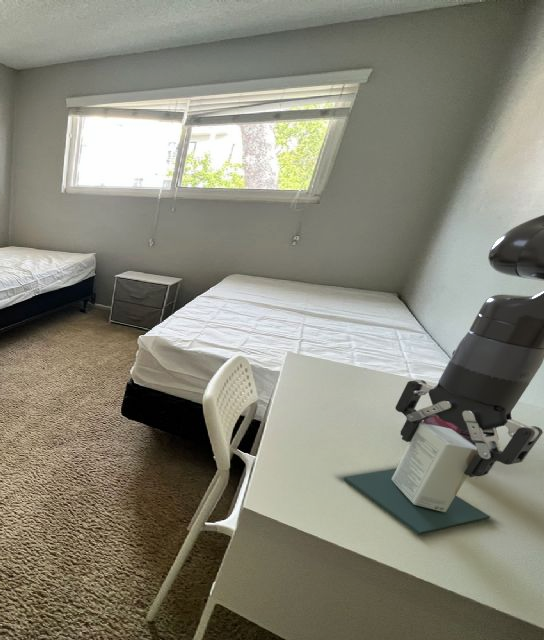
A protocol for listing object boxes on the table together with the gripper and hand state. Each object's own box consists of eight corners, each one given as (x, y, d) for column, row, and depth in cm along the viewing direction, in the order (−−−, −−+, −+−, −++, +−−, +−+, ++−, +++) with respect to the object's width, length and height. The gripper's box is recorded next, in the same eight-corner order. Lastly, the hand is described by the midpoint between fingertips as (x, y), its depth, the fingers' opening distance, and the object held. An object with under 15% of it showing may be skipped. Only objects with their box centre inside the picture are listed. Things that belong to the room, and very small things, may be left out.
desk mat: (406, 468, 66) (408, 466, 66) (488, 519, 56) (490, 516, 56) (343, 479, 62) (344, 476, 62) (418, 535, 53) (420, 532, 52)
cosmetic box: (446, 514, 56) (486, 453, 51) (412, 505, 57) (448, 445, 52) (419, 484, 61) (452, 427, 57) (388, 477, 62) (419, 420, 58)
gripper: (587, 391, 45) (517, 488, 51) (443, 345, 58) (401, 426, 64) (551, 395, 43) (483, 495, 49) (411, 347, 56) (370, 430, 62)
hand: (437, 456), depth 56 cm, fingers closed on cosmetic box, 7 cm apart
